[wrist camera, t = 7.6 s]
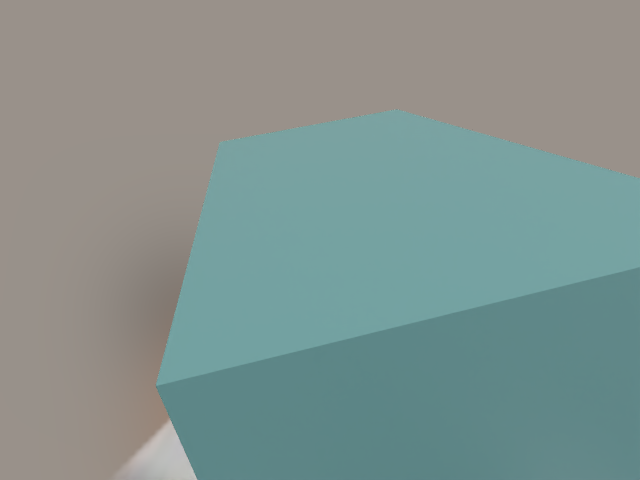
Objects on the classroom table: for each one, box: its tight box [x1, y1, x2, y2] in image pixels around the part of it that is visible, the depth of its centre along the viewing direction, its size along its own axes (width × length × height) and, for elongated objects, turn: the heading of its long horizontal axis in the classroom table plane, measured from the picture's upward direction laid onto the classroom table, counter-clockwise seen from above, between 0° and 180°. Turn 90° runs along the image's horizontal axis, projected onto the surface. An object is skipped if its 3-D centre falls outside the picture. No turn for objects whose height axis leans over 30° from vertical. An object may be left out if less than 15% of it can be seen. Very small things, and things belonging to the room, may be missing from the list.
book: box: [156, 110, 640, 480], centre depth 10 cm, size 4×8×16 cm, turn 11°
